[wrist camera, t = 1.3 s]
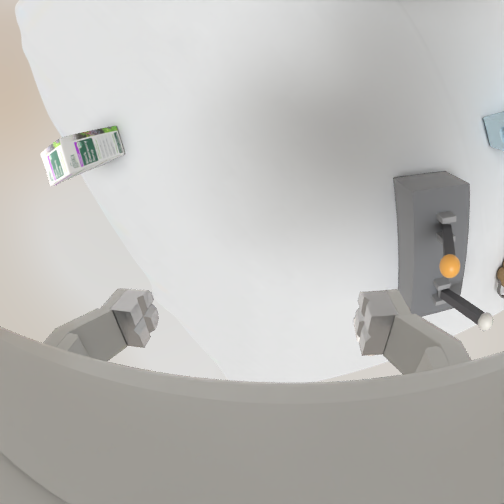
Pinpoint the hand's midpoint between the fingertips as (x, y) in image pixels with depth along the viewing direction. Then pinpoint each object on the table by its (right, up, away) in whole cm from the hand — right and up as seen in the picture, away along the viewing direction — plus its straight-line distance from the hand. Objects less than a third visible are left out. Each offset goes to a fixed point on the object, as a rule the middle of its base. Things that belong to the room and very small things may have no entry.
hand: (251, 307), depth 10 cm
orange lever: (+27, +6, +20) cm, 34 cm away
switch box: (+30, +5, +31) cm, 43 cm away
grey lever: (+30, -4, +25) cm, 39 cm away
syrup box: (-26, +21, +32) cm, 46 cm away
